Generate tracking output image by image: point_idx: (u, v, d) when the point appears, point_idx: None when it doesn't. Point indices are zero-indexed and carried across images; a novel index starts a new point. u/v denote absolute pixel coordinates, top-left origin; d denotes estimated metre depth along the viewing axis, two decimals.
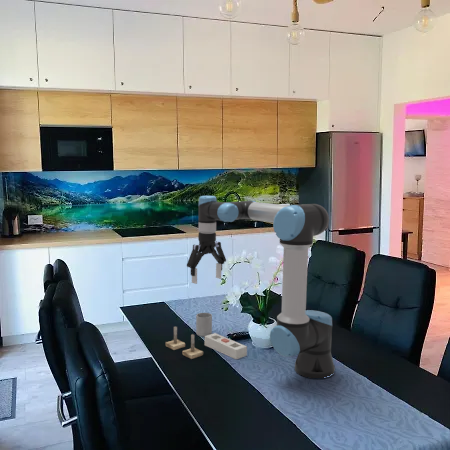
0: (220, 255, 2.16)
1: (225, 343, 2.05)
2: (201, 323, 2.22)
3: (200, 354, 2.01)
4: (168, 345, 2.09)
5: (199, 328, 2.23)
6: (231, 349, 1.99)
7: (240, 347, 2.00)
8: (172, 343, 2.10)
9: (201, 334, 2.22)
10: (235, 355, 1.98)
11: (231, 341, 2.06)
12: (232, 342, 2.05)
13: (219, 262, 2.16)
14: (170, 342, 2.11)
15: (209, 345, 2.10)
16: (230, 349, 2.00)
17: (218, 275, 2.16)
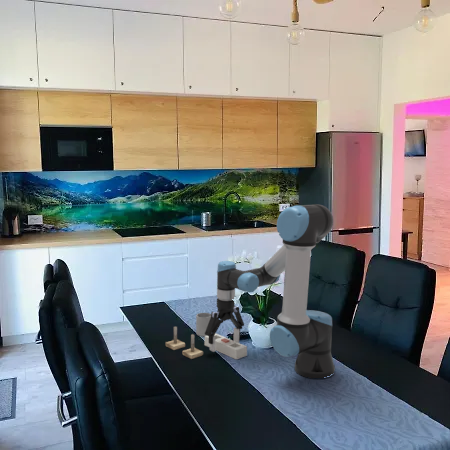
0: (238, 320, 2.11)
1: (225, 343, 2.05)
2: (201, 323, 2.22)
3: (200, 354, 2.01)
4: (168, 345, 2.09)
5: (199, 328, 2.23)
6: (231, 349, 1.99)
7: (240, 347, 2.00)
8: (172, 343, 2.10)
9: (201, 334, 2.22)
10: (235, 355, 1.98)
11: (231, 341, 2.06)
12: (232, 342, 2.05)
13: (237, 327, 2.11)
14: (170, 342, 2.11)
15: (209, 345, 2.10)
16: (230, 349, 2.00)
17: (236, 340, 2.11)
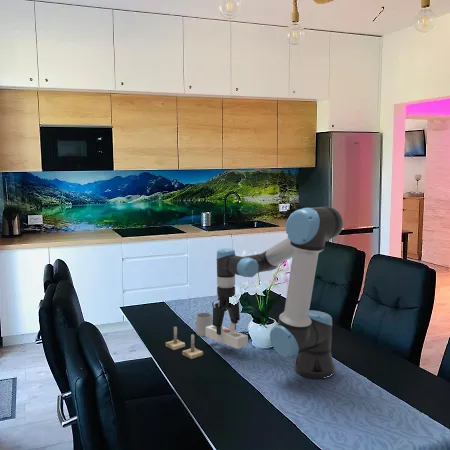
0: (235, 312, 2.08)
1: (226, 332, 2.04)
2: (201, 323, 2.22)
3: (200, 354, 2.01)
4: (168, 345, 2.09)
5: (199, 328, 2.23)
6: (232, 338, 1.98)
7: (241, 336, 1.99)
8: (172, 343, 2.10)
9: (201, 334, 2.22)
10: (236, 344, 1.97)
11: (232, 331, 2.05)
12: (233, 332, 2.04)
13: (232, 321, 2.07)
14: (170, 342, 2.11)
15: (210, 335, 2.09)
16: (231, 338, 1.99)
17: None
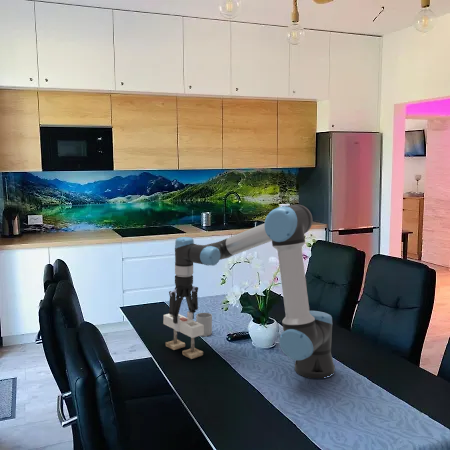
0: (193, 301, 2.07)
1: (183, 321, 2.03)
2: (201, 323, 2.22)
3: (200, 354, 2.01)
4: (168, 345, 2.09)
5: None
6: (188, 327, 1.98)
7: (197, 326, 1.98)
8: (172, 343, 2.10)
9: None
10: (191, 333, 1.96)
11: (189, 320, 2.04)
12: (190, 321, 2.03)
13: (190, 310, 2.06)
14: (170, 342, 2.11)
15: (168, 324, 2.08)
16: (187, 327, 1.98)
17: None
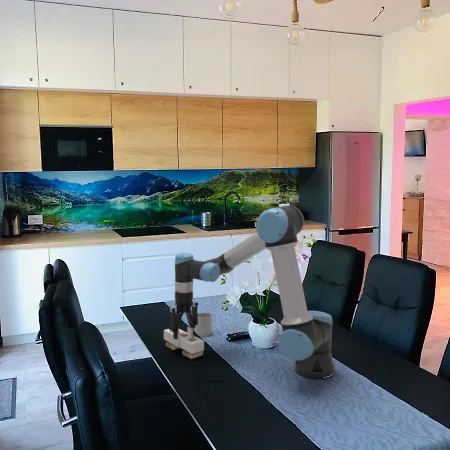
0: (193, 317, 2.08)
1: (183, 337, 2.03)
2: (201, 323, 2.22)
3: (200, 354, 2.01)
4: (168, 345, 2.09)
5: (199, 328, 2.23)
6: (188, 343, 1.98)
7: (197, 341, 1.99)
8: None
9: (201, 334, 2.22)
10: (191, 349, 1.97)
11: (189, 335, 2.05)
12: (190, 336, 2.04)
13: (190, 325, 2.07)
14: None
15: (168, 339, 2.09)
16: (187, 343, 1.99)
17: None
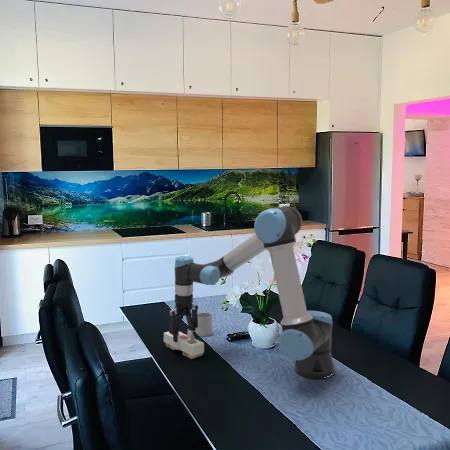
0: (193, 319, 2.08)
1: (183, 339, 2.04)
2: (201, 323, 2.22)
3: (200, 354, 2.01)
4: (168, 345, 2.09)
5: (199, 328, 2.23)
6: (188, 345, 1.99)
7: (197, 343, 1.99)
8: None
9: (201, 334, 2.22)
10: (191, 351, 1.97)
11: (189, 338, 2.05)
12: (190, 339, 2.04)
13: (190, 328, 2.07)
14: None
15: (168, 342, 2.09)
16: (187, 345, 1.99)
17: None
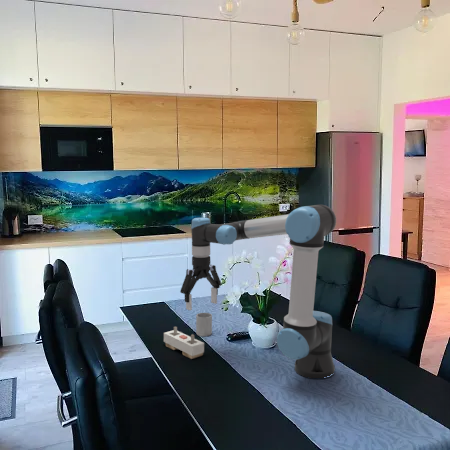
0: (215, 279, 2.06)
1: (183, 339, 2.04)
2: (201, 323, 2.22)
3: (200, 354, 2.01)
4: (168, 345, 2.09)
5: (199, 328, 2.23)
6: (188, 345, 1.99)
7: (197, 343, 1.99)
8: None
9: (201, 334, 2.22)
10: (191, 351, 1.97)
11: (189, 338, 2.05)
12: (190, 339, 2.04)
13: (214, 286, 2.06)
14: None
15: (168, 342, 2.09)
16: (187, 345, 1.99)
17: (213, 300, 2.06)
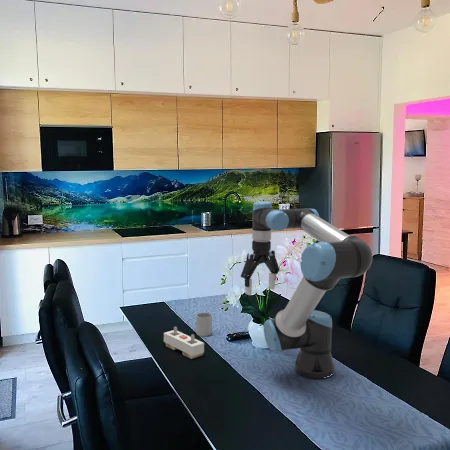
0: (273, 264, 2.04)
1: (183, 339, 2.04)
2: (201, 323, 2.22)
3: (200, 354, 2.01)
4: (168, 345, 2.09)
5: (199, 328, 2.23)
6: (188, 345, 1.99)
7: (197, 343, 1.99)
8: None
9: (201, 334, 2.22)
10: (191, 351, 1.97)
11: (189, 338, 2.05)
12: (190, 339, 2.04)
13: (272, 272, 2.04)
14: None
15: (168, 342, 2.09)
16: (187, 345, 1.99)
17: (271, 286, 2.04)
